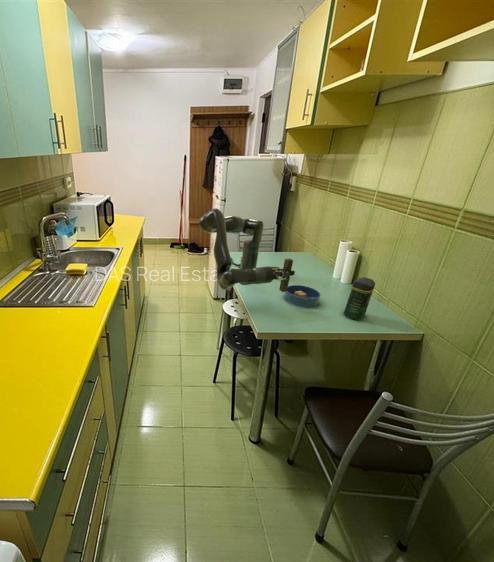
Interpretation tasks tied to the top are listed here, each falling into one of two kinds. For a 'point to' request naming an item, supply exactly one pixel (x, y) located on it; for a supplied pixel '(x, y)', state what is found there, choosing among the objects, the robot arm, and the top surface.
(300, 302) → the bowl
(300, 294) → the block
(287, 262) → the stick
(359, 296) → the coffee jar
